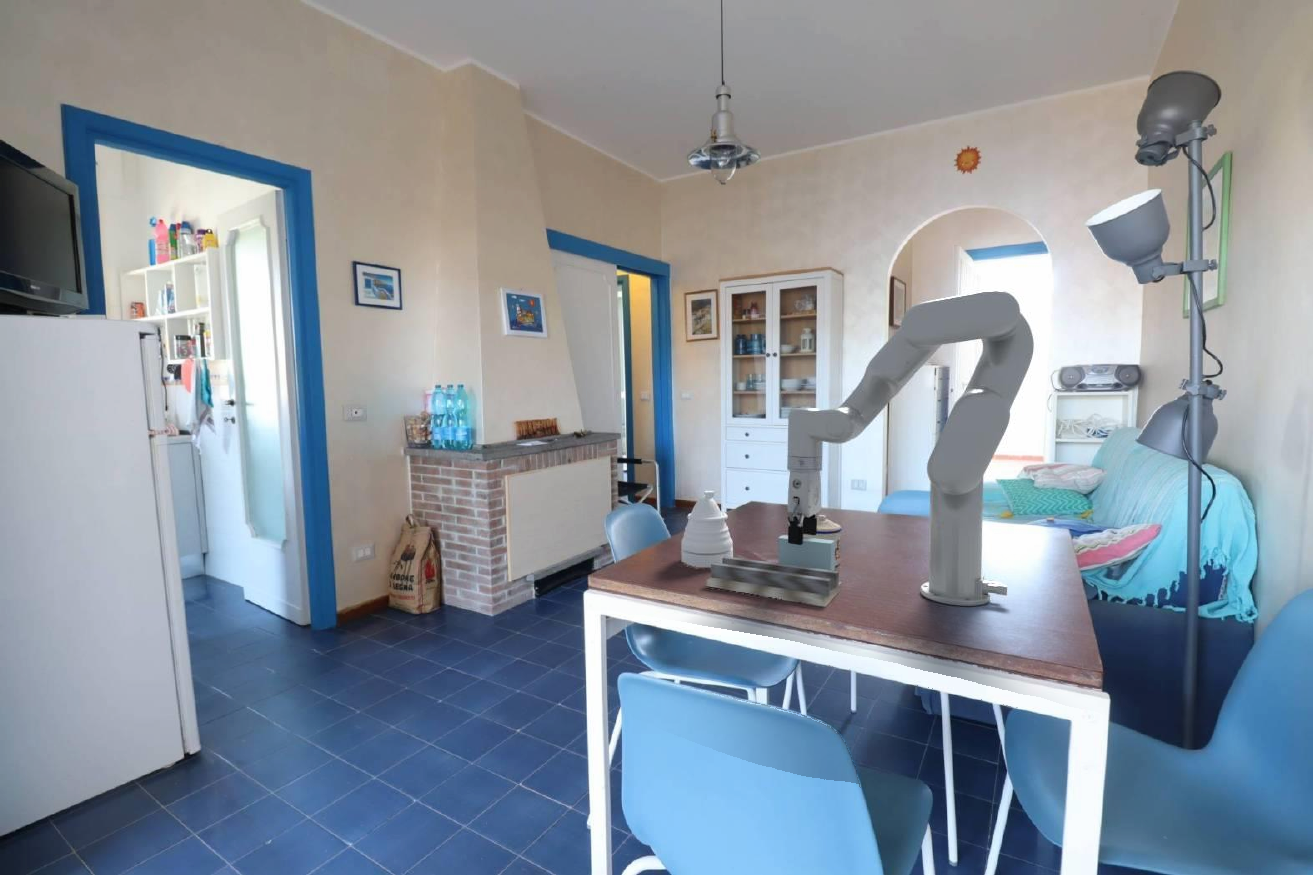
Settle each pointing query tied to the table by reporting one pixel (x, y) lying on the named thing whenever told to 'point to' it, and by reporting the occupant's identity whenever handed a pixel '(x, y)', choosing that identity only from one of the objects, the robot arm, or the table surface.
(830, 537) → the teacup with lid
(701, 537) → the honey pot
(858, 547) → the table surface
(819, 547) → the door panel
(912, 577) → the table surface
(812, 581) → the track board
